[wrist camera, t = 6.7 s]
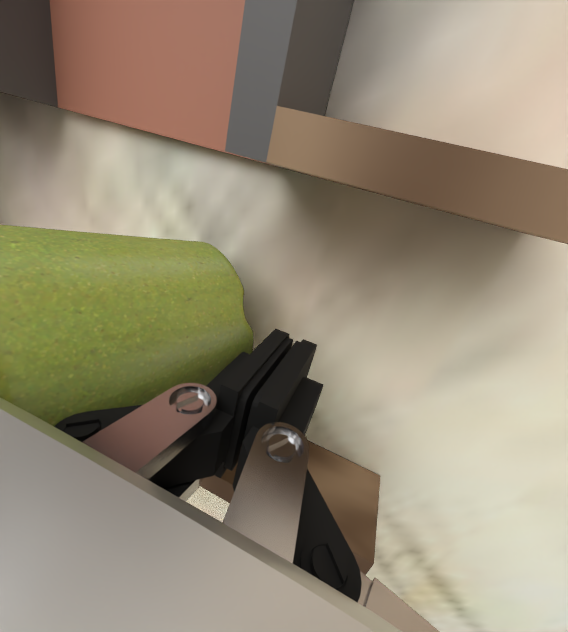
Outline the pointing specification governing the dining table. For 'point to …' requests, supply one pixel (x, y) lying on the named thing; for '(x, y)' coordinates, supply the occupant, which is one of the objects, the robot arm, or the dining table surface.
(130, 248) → the plant pot
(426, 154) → the lane
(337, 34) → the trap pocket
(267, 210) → the dining table surface
